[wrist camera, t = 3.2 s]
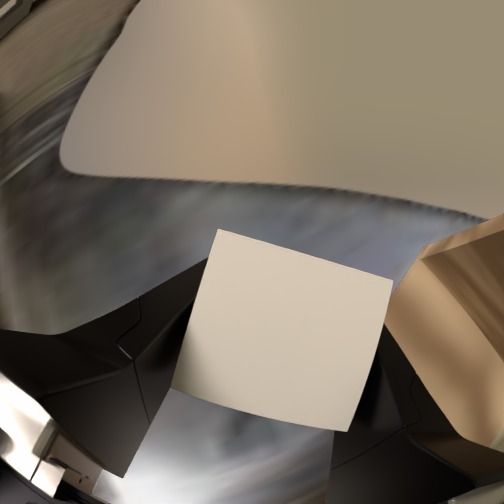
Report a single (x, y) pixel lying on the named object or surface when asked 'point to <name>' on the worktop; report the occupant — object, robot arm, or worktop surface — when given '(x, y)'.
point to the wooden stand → (458, 328)
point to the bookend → (281, 333)
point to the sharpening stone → (13, 14)
